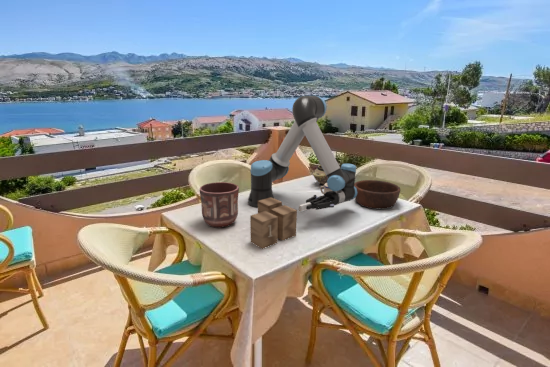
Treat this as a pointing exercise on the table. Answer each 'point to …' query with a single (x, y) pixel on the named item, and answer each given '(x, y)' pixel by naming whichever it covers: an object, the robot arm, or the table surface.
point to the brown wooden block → (285, 221)
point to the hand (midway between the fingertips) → (300, 208)
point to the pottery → (219, 203)
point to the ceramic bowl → (320, 175)
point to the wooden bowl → (376, 194)
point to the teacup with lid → (325, 189)
